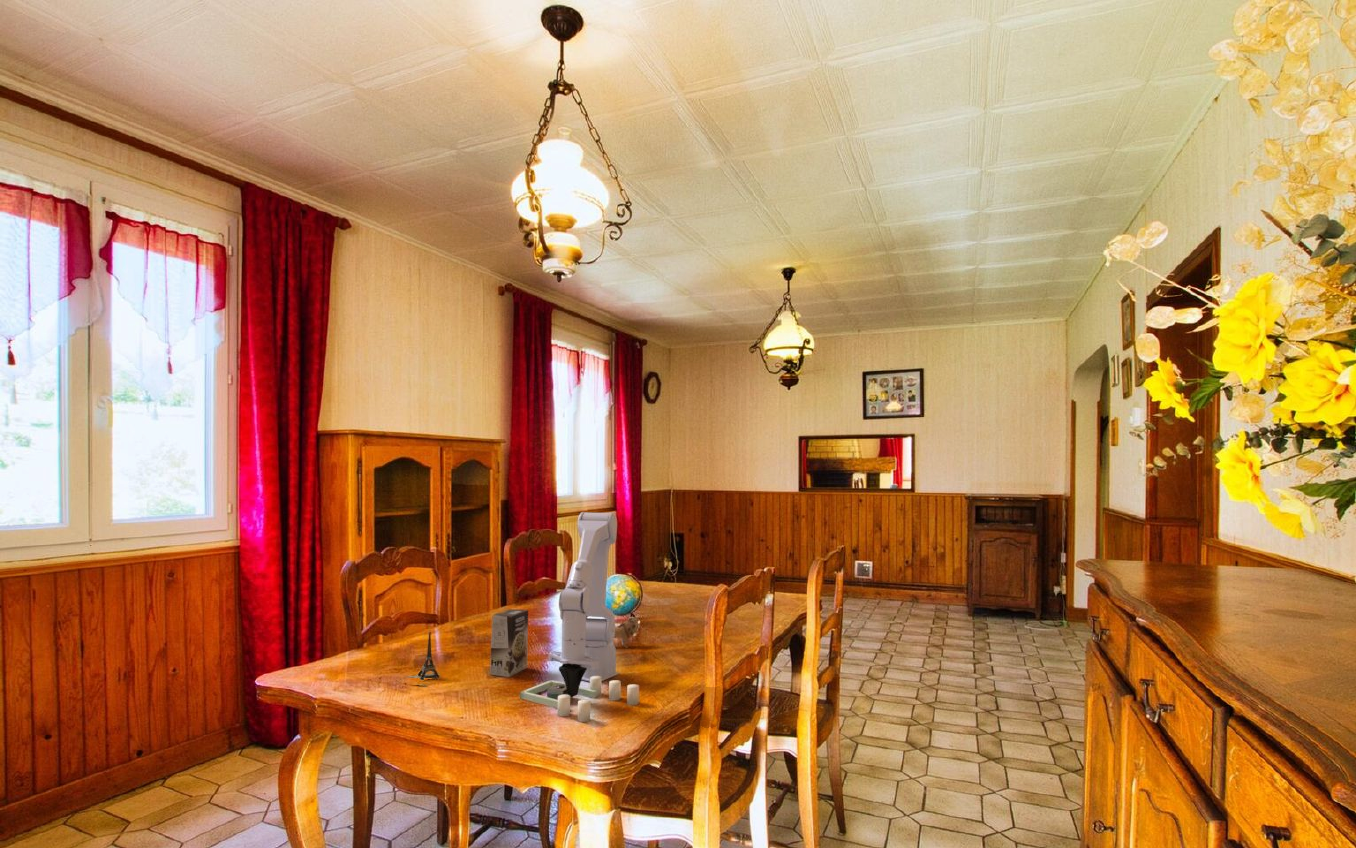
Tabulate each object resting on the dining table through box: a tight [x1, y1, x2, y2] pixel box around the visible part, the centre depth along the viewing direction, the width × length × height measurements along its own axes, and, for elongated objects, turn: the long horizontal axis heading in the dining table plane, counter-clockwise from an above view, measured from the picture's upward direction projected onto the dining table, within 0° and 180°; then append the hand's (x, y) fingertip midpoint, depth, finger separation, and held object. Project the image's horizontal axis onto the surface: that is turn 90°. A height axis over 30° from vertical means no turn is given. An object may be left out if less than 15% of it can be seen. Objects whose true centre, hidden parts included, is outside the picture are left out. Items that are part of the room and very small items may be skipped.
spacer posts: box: [557, 676, 640, 723], centre depth 154 cm, size 17×14×4 cm
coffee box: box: [489, 608, 529, 678], centre depth 182 cm, size 9×6×16 cm
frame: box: [519, 679, 598, 709], centre depth 161 cm, size 11×15×2 cm
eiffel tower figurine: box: [405, 631, 442, 687], centre depth 177 cm, size 15×10×13 cm
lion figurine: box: [614, 616, 639, 649], centre depth 207 cm, size 15×5×9 cm, turn 105°
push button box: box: [546, 682, 574, 700], centre depth 160 cm, size 4×4×3 cm
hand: (572, 695), depth 158 cm, fingers closed
